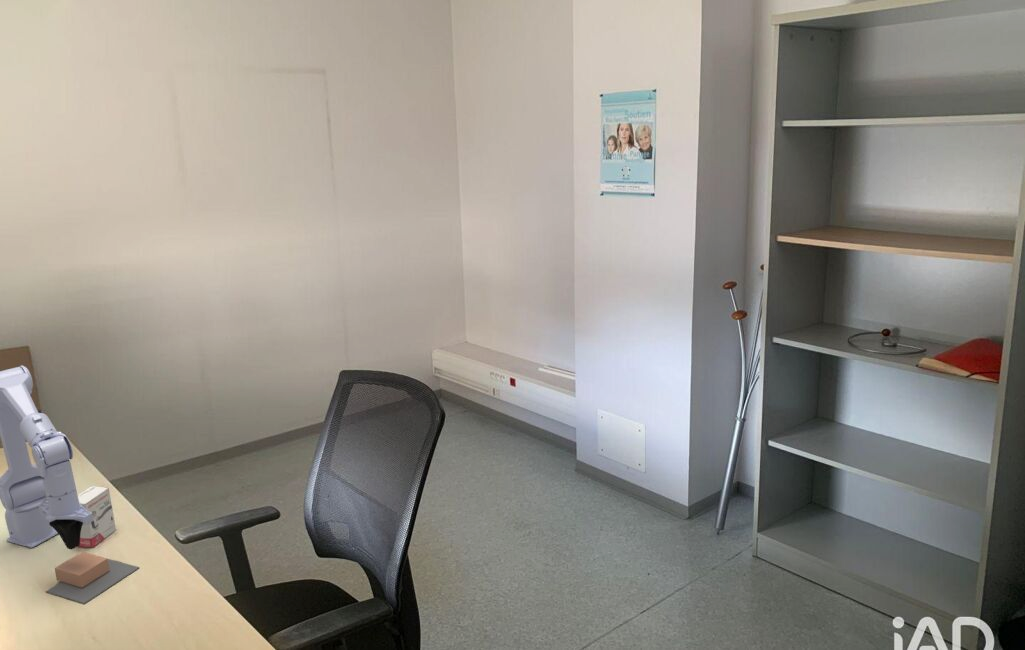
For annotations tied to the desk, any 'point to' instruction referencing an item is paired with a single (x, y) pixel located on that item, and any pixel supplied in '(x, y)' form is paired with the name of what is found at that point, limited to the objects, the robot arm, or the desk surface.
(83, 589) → the rubber mat
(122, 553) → the desk surface
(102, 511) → the ink box
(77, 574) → the salmon tan block
